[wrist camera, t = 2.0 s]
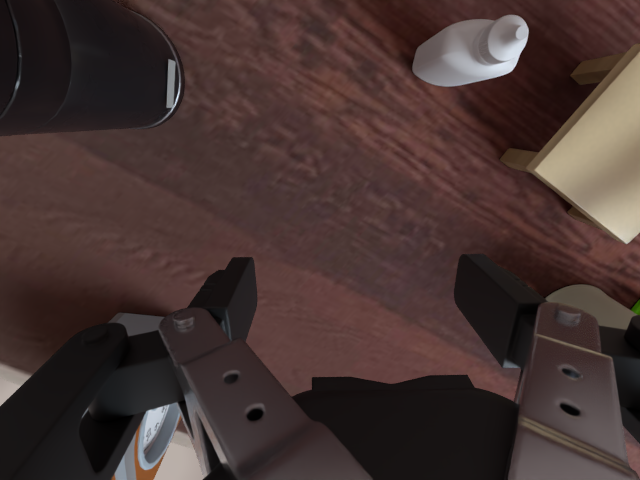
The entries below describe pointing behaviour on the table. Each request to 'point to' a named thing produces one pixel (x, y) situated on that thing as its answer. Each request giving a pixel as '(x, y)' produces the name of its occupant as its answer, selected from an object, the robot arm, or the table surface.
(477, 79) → the eye dropper bottle
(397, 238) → the table surface
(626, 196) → the stand
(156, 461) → the alarm clock
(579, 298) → the can
